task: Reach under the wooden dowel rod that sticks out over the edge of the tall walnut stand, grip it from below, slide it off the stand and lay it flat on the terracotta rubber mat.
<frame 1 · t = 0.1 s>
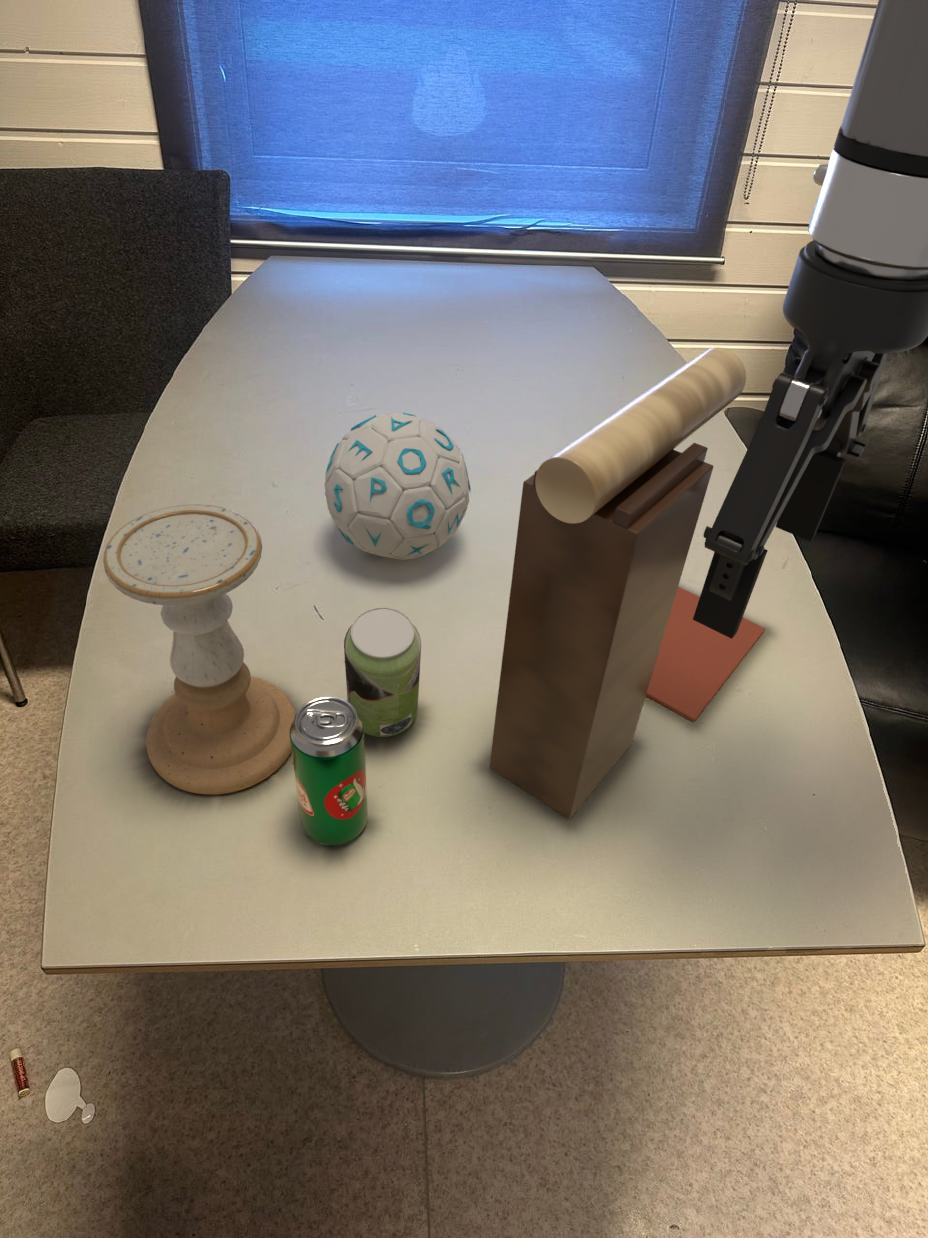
hand: (757, 576, 56), 21 cm above the table, tool pointing down, fingers open, 13 cm apart
wooden dowel rod: (644, 454, 53), point 28 cm above the table, touching stand
soda can: (335, 822, 64), on the table
puzzle ball: (398, 546, 91), on the table
mat: (675, 645, 81), on the table
candle holder: (225, 738, 70), on the table
stand: (561, 756, 70), on the table
beverage can: (383, 723, 72), on the table
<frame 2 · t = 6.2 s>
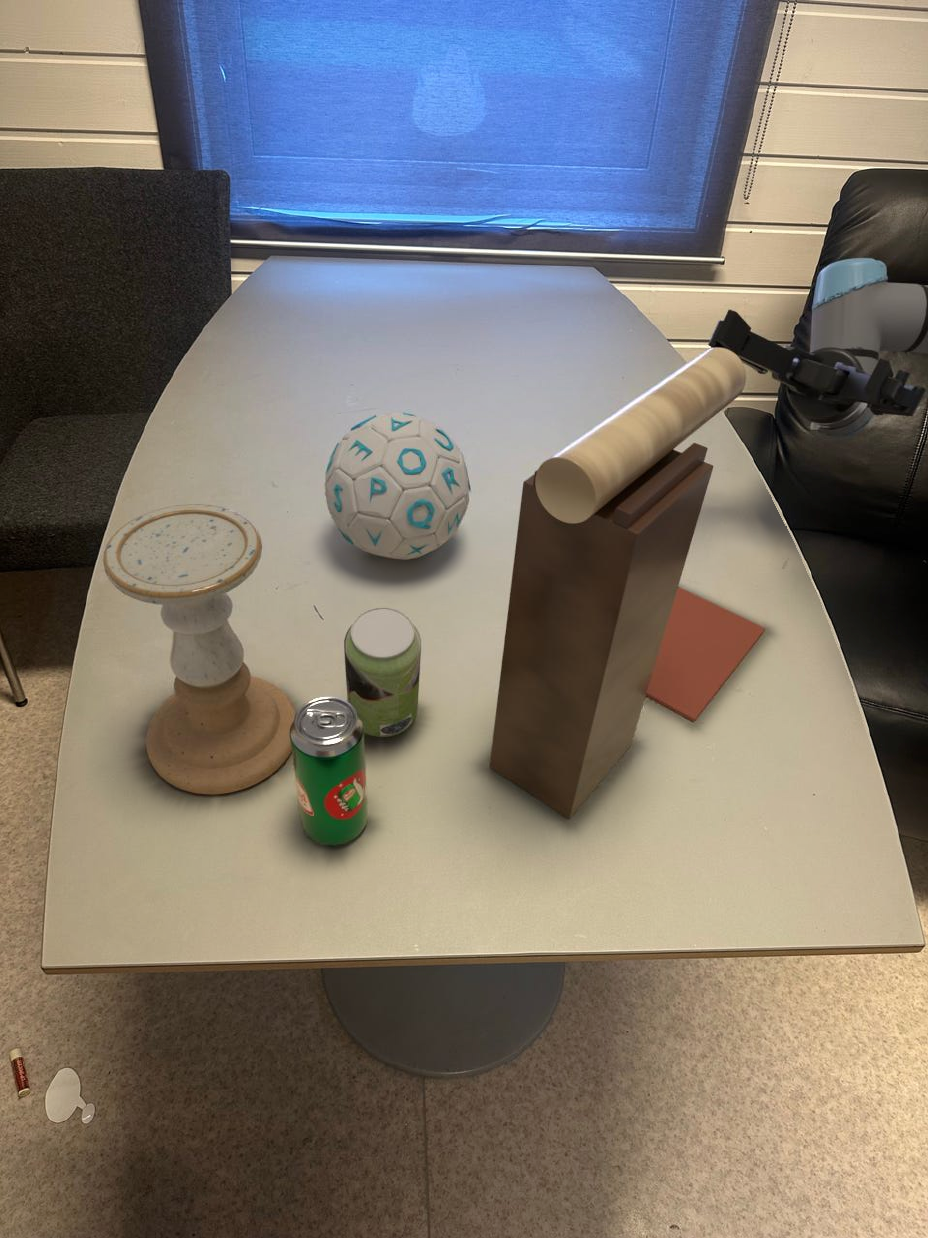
hand: (797, 349, 71), 26 cm above the table, tool pointing upward, fingers open, 13 cm apart
nothing on the table moved.
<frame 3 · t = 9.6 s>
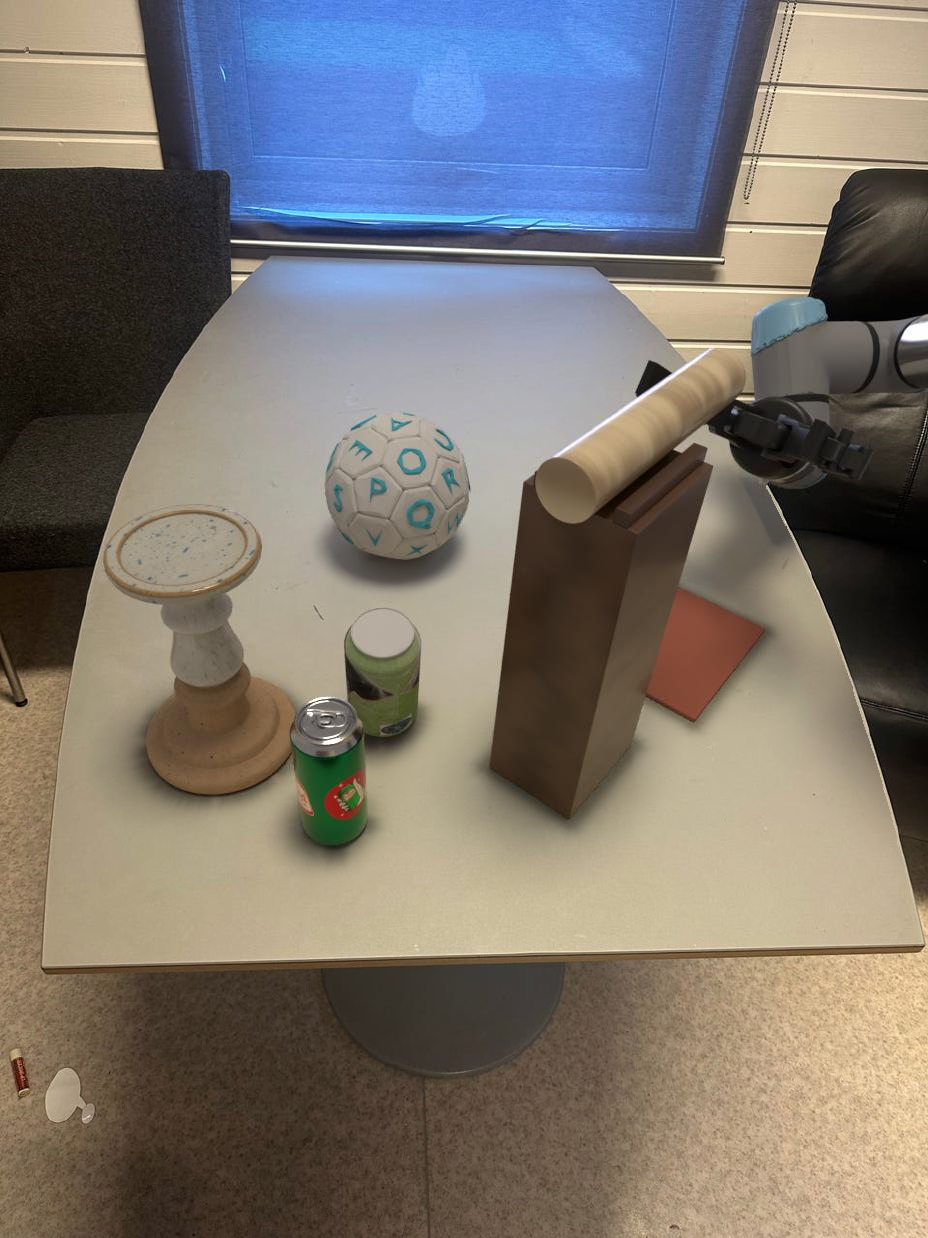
hand: (724, 406, 62), 26 cm above the table, tool pointing upward, fingers open, 13 cm apart
nothing on the table moved.
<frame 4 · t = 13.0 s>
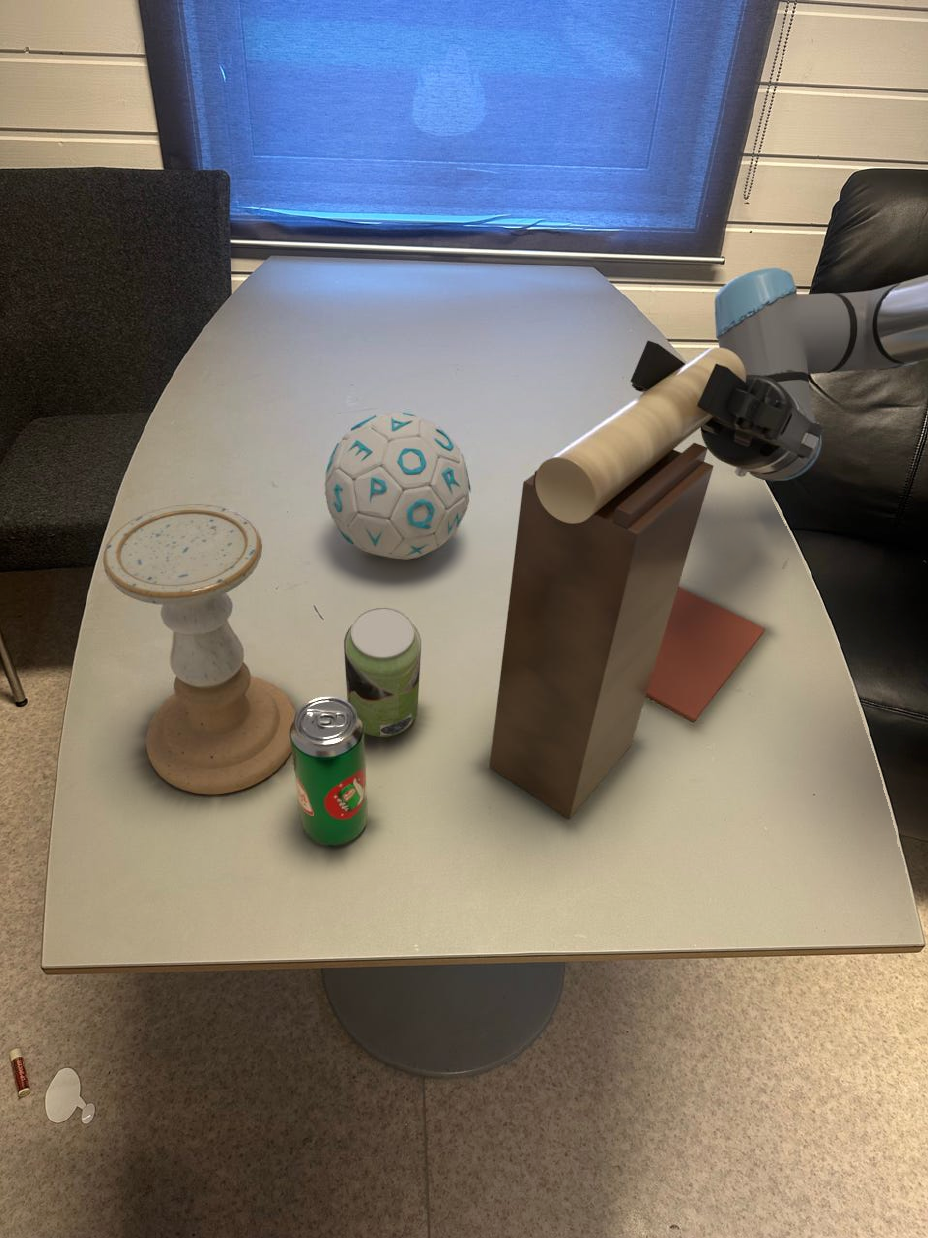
hand: (677, 374, 52), 33 cm above the table, tool pointing upward, fingers closed on wooden dowel rod, 4 cm apart
wooden dowel rod: (644, 454, 53), point 28 cm above the table, touching gripper, stand
everything else where it was.
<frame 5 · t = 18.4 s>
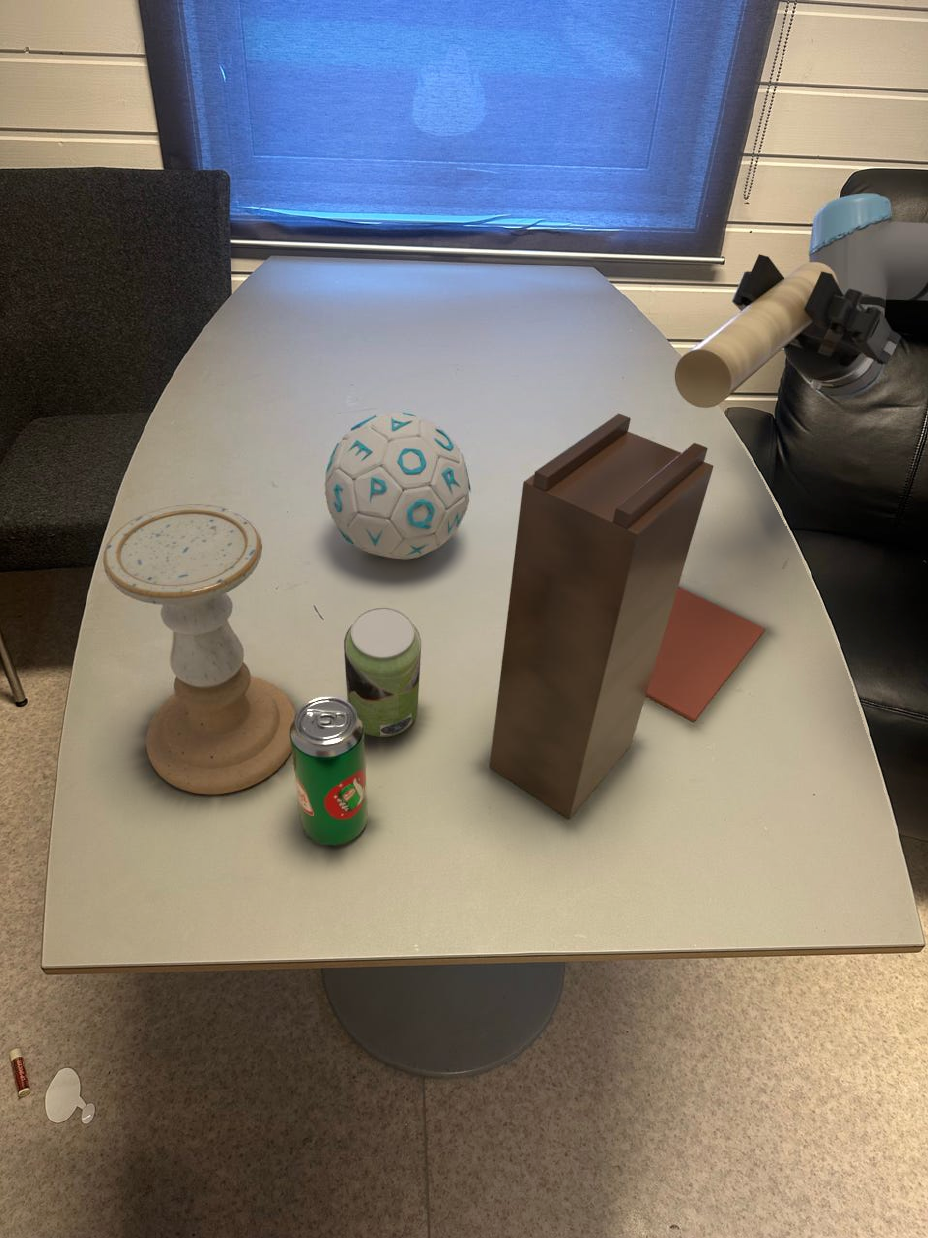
hand: (786, 282, 60), 34 cm above the table, tool pointing upward, fingers closed on wooden dowel rod, 4 cm apart
wooden dowel rod: (755, 355, 62), point 30 cm above the table, touching gripper
everything else where it was.
when the fingers open (7 cm above the table, at t = 23.9 s): wooden dowel rod drops 2 cm, resting on mat.
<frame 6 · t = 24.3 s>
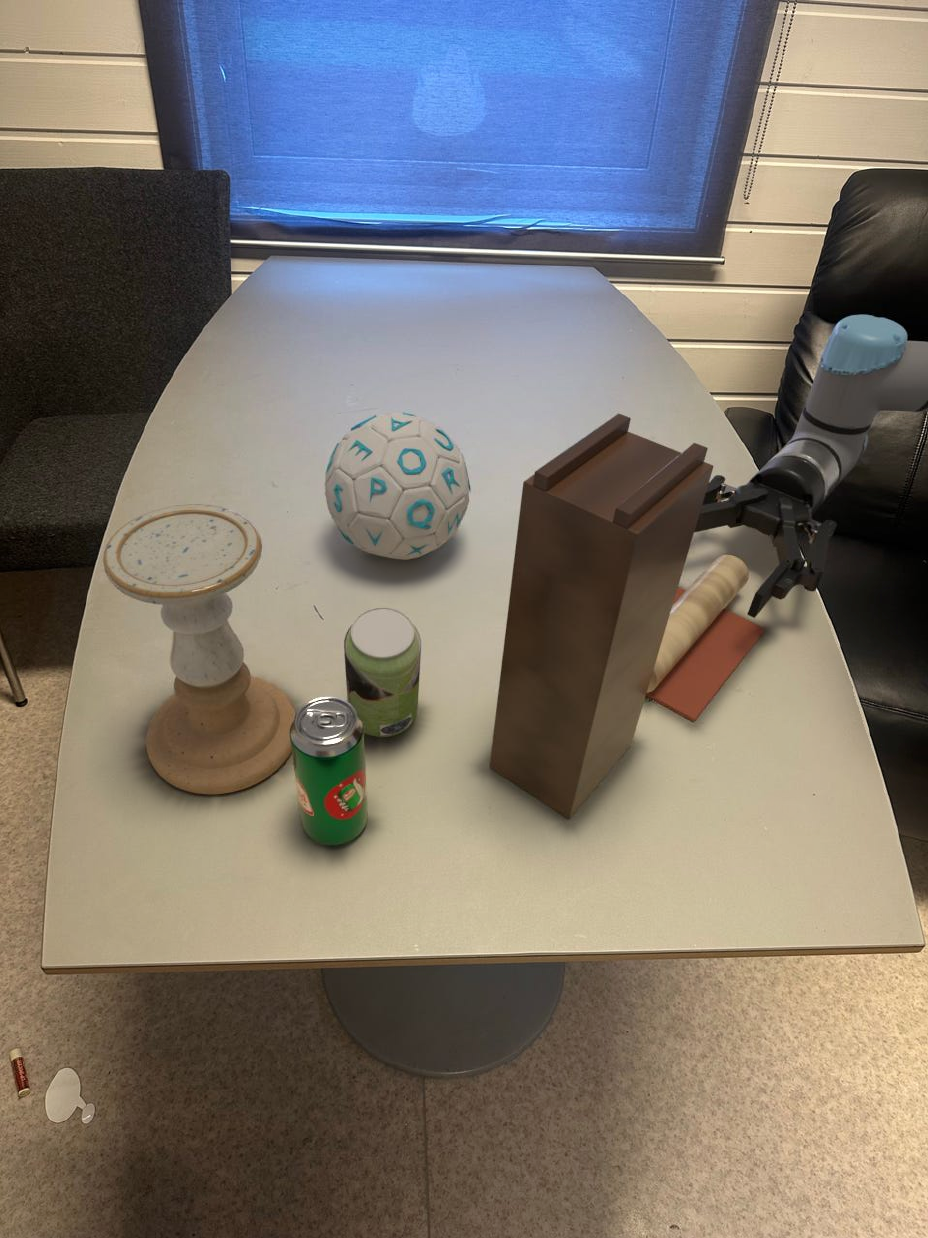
hand: (703, 581, 79), 6 cm above the table, tool horizontal, fingers open, 10 cm apart
wooden dowel rod: (681, 633, 82), resting on mat
everything else where it was.
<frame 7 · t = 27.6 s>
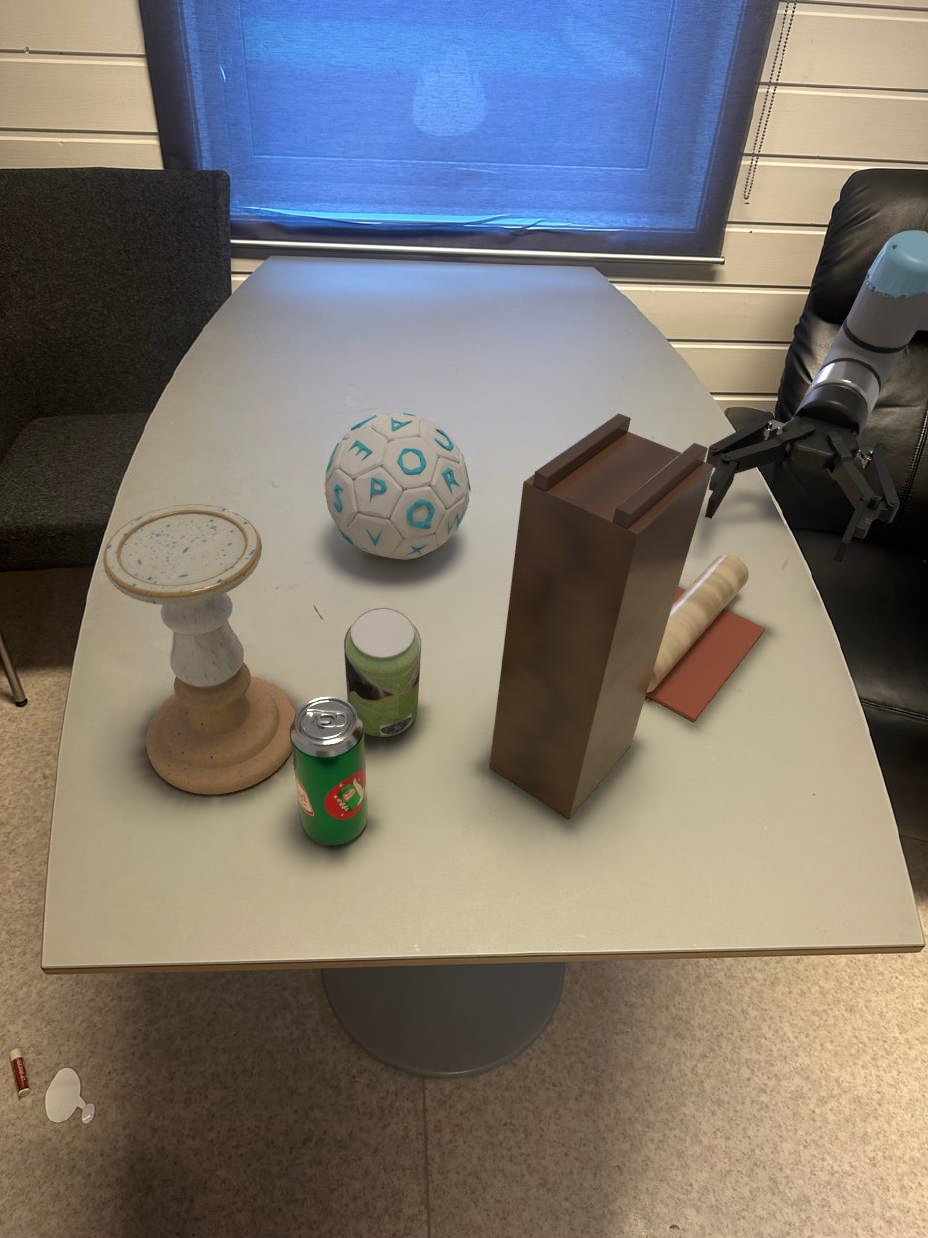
hand: (773, 530, 85), 7 cm above the table, tool horizontal, fingers open, 13 cm apart
nothing on the table moved.
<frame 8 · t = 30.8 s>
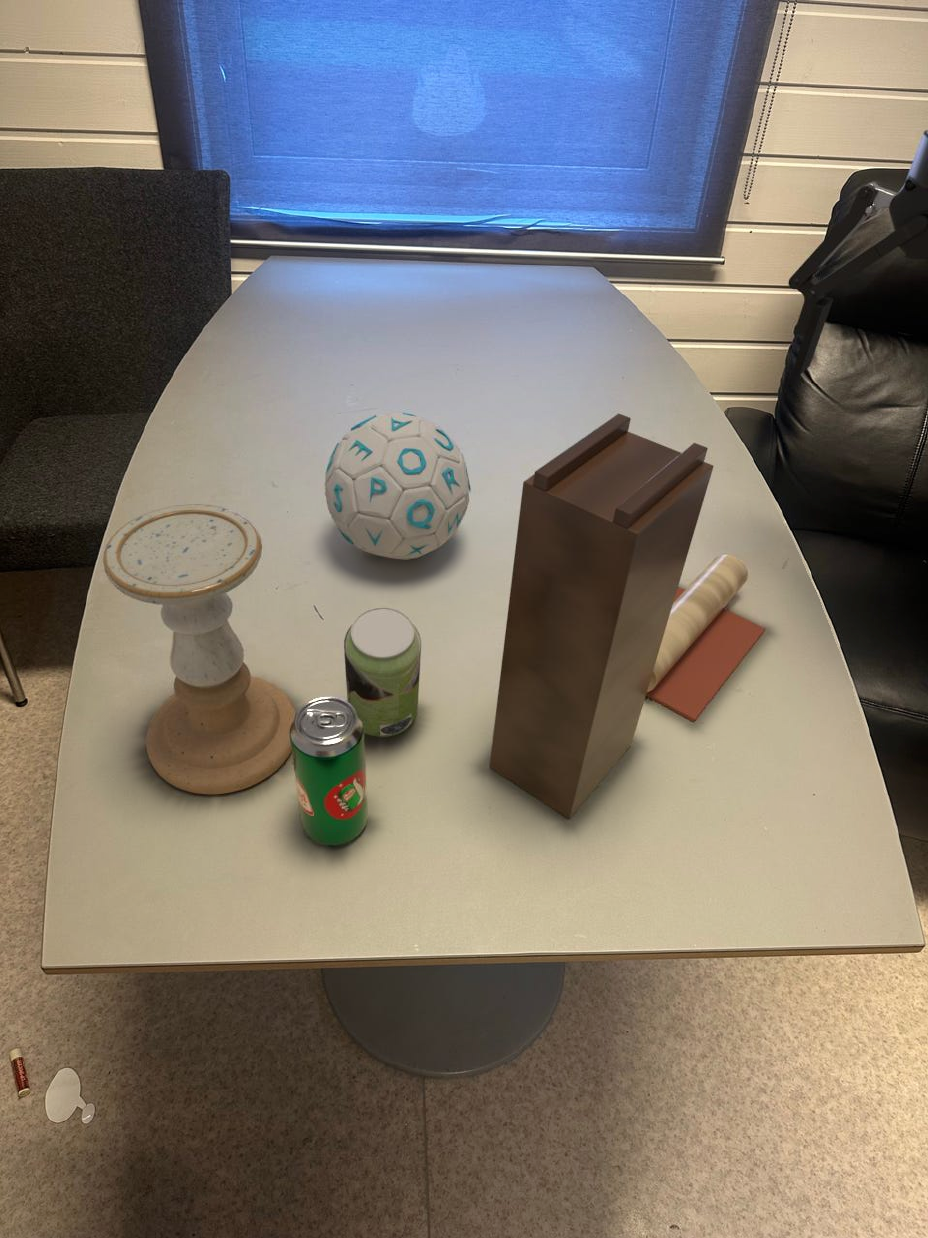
hand: (871, 393, 76), 22 cm above the table, tool pointing down, fingers open, 13 cm apart
nothing on the table moved.
at the end: wooden dowel rod inside the target area on the mat (1.5 cm from its centre), point 0.4 cm above the mat's base; wooden dowel rod touching mat; the gripper is holding nothing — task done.
